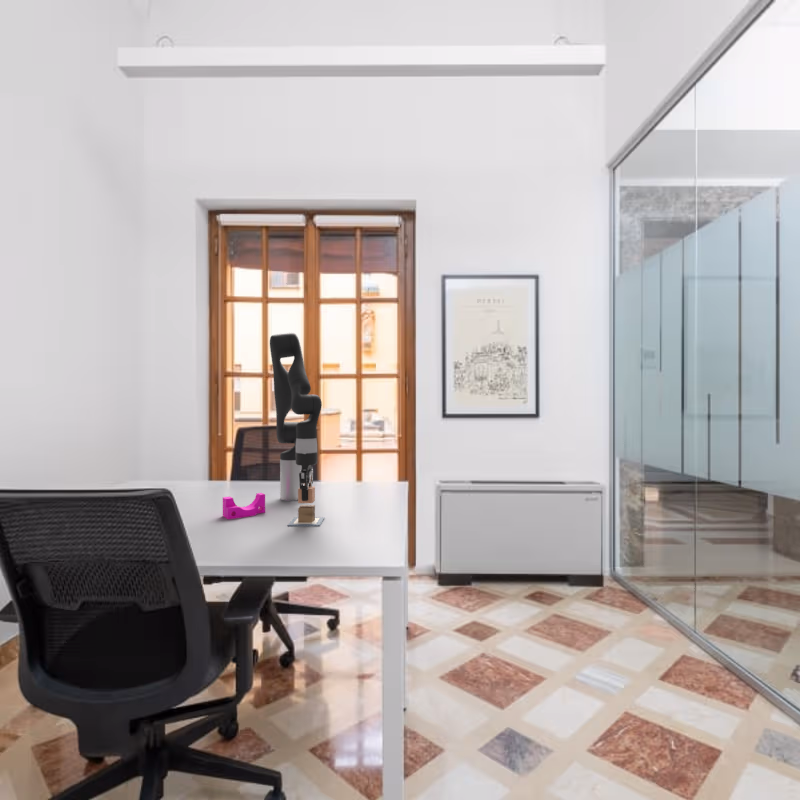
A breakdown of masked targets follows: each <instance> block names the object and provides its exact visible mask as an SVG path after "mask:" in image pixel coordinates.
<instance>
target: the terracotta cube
mask: <svg viewBox="0 0 800 800" xmlns="http://www.w3.org/2000/svg"><path fill="white" fill-rule="evenodd" d="M315 500H316V487H315V485H314V486H313V485H312V486H309V489H308V501H302V490H301V489H300V488H298V500H297V503H298V504H313V503H314V502H315Z"/></svg>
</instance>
